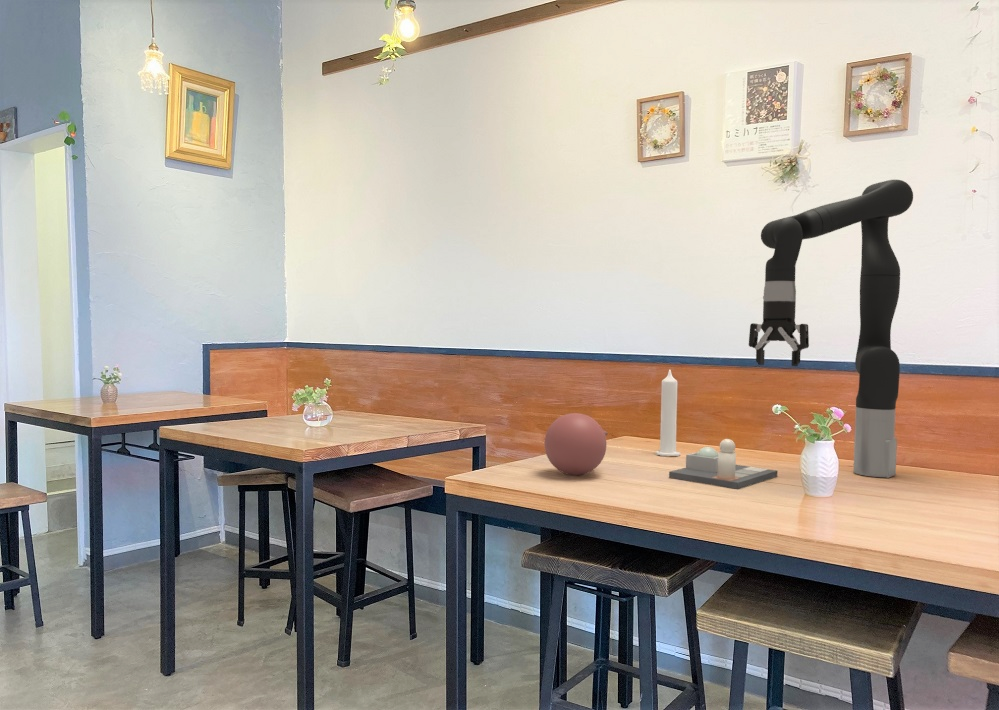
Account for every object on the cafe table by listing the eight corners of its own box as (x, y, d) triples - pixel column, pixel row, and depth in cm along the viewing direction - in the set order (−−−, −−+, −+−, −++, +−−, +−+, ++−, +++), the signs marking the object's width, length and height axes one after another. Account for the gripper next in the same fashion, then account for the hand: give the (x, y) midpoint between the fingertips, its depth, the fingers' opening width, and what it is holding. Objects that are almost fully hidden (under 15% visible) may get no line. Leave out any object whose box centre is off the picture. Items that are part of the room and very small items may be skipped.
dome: (722, 468, 192) (722, 447, 192) (712, 471, 188) (712, 449, 188) (702, 465, 196) (703, 444, 196) (692, 468, 192) (693, 446, 192)
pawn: (738, 477, 180) (739, 439, 180) (729, 479, 177) (731, 440, 177) (722, 475, 183) (724, 437, 183) (714, 477, 180) (715, 438, 180)
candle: (654, 456, 219) (657, 369, 218) (655, 452, 226) (657, 368, 225) (680, 457, 217) (682, 370, 216) (680, 453, 224) (682, 369, 223)
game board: (777, 476, 191) (777, 456, 191) (738, 489, 175) (738, 467, 175) (711, 466, 203) (712, 448, 203) (669, 477, 187) (669, 457, 187)
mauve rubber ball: (630, 474, 191) (632, 413, 191) (575, 483, 178) (576, 418, 178) (586, 464, 203) (587, 407, 202) (531, 473, 190) (532, 412, 190)
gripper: (814, 300, 186) (812, 366, 186) (758, 301, 196) (756, 363, 196) (802, 299, 180) (800, 367, 181) (745, 300, 190) (743, 364, 191)
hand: (777, 365), depth 189 cm, fingers open, 8 cm apart
